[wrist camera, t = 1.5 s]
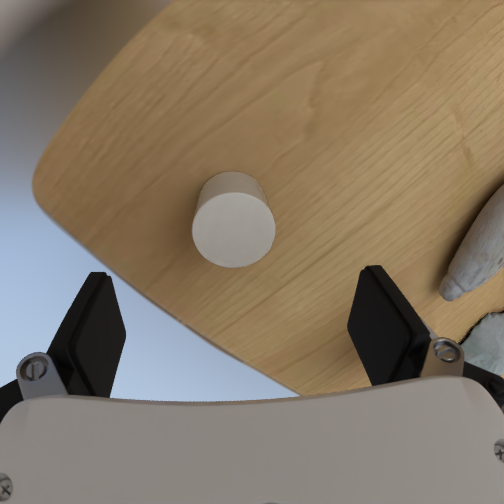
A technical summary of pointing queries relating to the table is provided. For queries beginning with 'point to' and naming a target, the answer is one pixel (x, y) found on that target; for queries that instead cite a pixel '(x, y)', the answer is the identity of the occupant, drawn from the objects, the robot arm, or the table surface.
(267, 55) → the table surface
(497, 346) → the stone
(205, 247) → the white canister
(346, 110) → the table surface
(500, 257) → the decorative stone
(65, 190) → the table surface
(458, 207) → the table surface
